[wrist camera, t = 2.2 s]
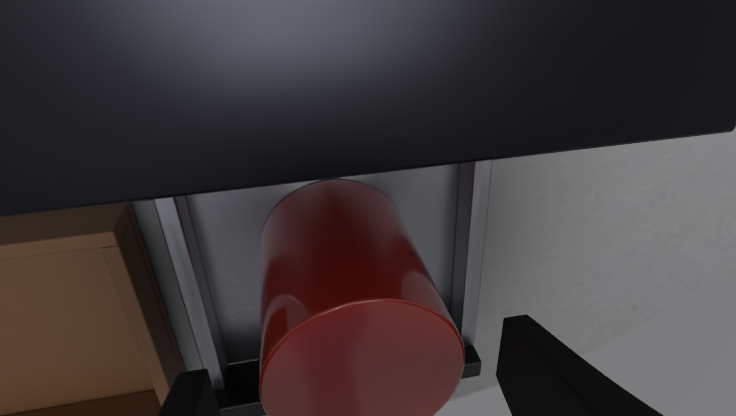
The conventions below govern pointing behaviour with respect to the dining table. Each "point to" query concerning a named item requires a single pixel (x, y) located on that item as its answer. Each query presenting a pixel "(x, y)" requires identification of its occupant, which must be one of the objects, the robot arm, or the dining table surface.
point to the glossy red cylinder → (350, 310)
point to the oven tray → (242, 262)
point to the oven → (337, 88)
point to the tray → (81, 317)
